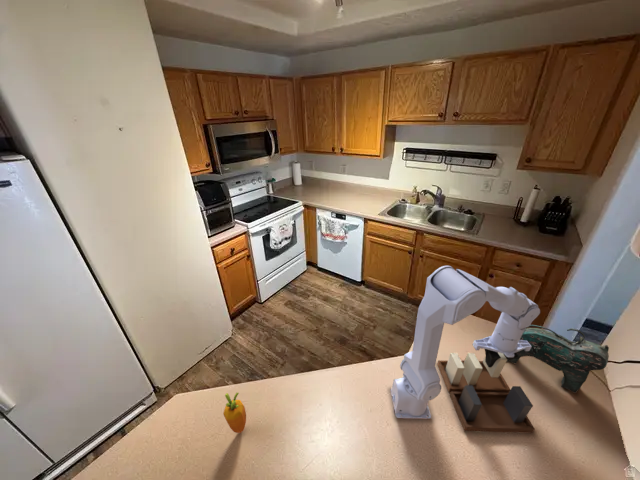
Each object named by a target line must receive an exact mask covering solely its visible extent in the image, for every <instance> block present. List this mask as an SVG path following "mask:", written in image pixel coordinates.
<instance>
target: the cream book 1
mask: <svg viewBox="0 0 640 480" xmlns="http://www.w3.org/2000/svg"><path fill="white" fill-rule="evenodd" d="M447 361H448V362H447V365H446V368H445V371H446V373H447V375H448V378H449V380H450V382H451V385H458V384H459V381H460V379H461V376H462V374H463V371H464V369H465V368H464V366H463V364H462V362H461V361H462V360H461V358H460V355H459V353H458V352H450V353H449V356H448V359H447Z"/></svg>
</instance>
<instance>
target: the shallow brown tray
mask: <svg viewBox="0 0 640 480" xmlns="http://www.w3.org/2000/svg"><path fill="white" fill-rule="evenodd" d="M464 361H465V360H461V362H462V364H464ZM478 361H479V363H480V364H481V366H482V368H483V369H482V371H481V373H480V376H479V378H478V380H477V382H476V384H475V385H473V387H474V389H475V391H476V392H500V393H509V392H510V390H511V388H510V386H509V384H508V383H507V382H506V380H505V378H504V377H503V375H502V372H501V373H500V375H499V377H491V376H490V374H489V372H488V370H487V369H486V367H485V365H484V364H483V360H478ZM447 362H448V360H440V359H439V360H438V361H437V362H436V363H437V364H436V365H437V368H438V370H439V372H440V375H441V378H442V380H443V382H444V385H445V387H446V390H447V392H448V393H451V392H463V389H464V387H465V385H468V383H467V381H466V379H465V377H464V375H463V374H462V376H461V379H460V381H459V384H458V385H451V382H450V380H449V378H448V375H447V373H446V371H445V368H446V365H447Z"/></svg>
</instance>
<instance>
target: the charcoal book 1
mask: <svg viewBox="0 0 640 480" xmlns="http://www.w3.org/2000/svg"><path fill="white" fill-rule="evenodd" d="M458 403H459V405H460V408H461V410H462V413H463V415H464V417H465V420H466V421H473V422H474V420H475V418H476V416H477V414H478V412H479V410H480V408H481V406H482V403H481V401H480V399H479V397H478V395H477V393H476V391H475V389H474V387H473V385H465V387H464V389H463V392H462V394H461V396H460V399H459V401H458Z"/></svg>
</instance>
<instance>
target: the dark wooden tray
mask: <svg viewBox="0 0 640 480" xmlns="http://www.w3.org/2000/svg"><path fill="white" fill-rule="evenodd" d="M449 393H450V394H449V397H450V400H451V402H452V404H453V407H454V410H455V412H456V414H457V417H458V420H459V422H460V424H461V427H462V430H463V432H486V433H487V432H488V433H489V432H491V433H525V434H526V433H527V434H528V433H530V434H531V433H532V434H533V432H534V431H535V430H536V429H535V427H534V425H533V424H532V422H531V420H530V418H529V417H528V415H527V416H526V417H525V419H524V420H523V422H522V423H514V421H513V420H512V418H511V416H510V414H509V413H508V411H507V409H506V407H505V406H504V404H503V402H504V401H505V399H506V397H507V395H508V394H509V393H500V392H476V393H477V395H478V397H479V399H480V401H481V403H482V406H481V408H480V410H479V412H478V414H477V416H476V418H475V420H474V422H473V421H466V420H465V417H464V415H463V413H462V410H461V408H460V405H459V403H458V401H459V399H460V396H461V394H462V392H449Z"/></svg>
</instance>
